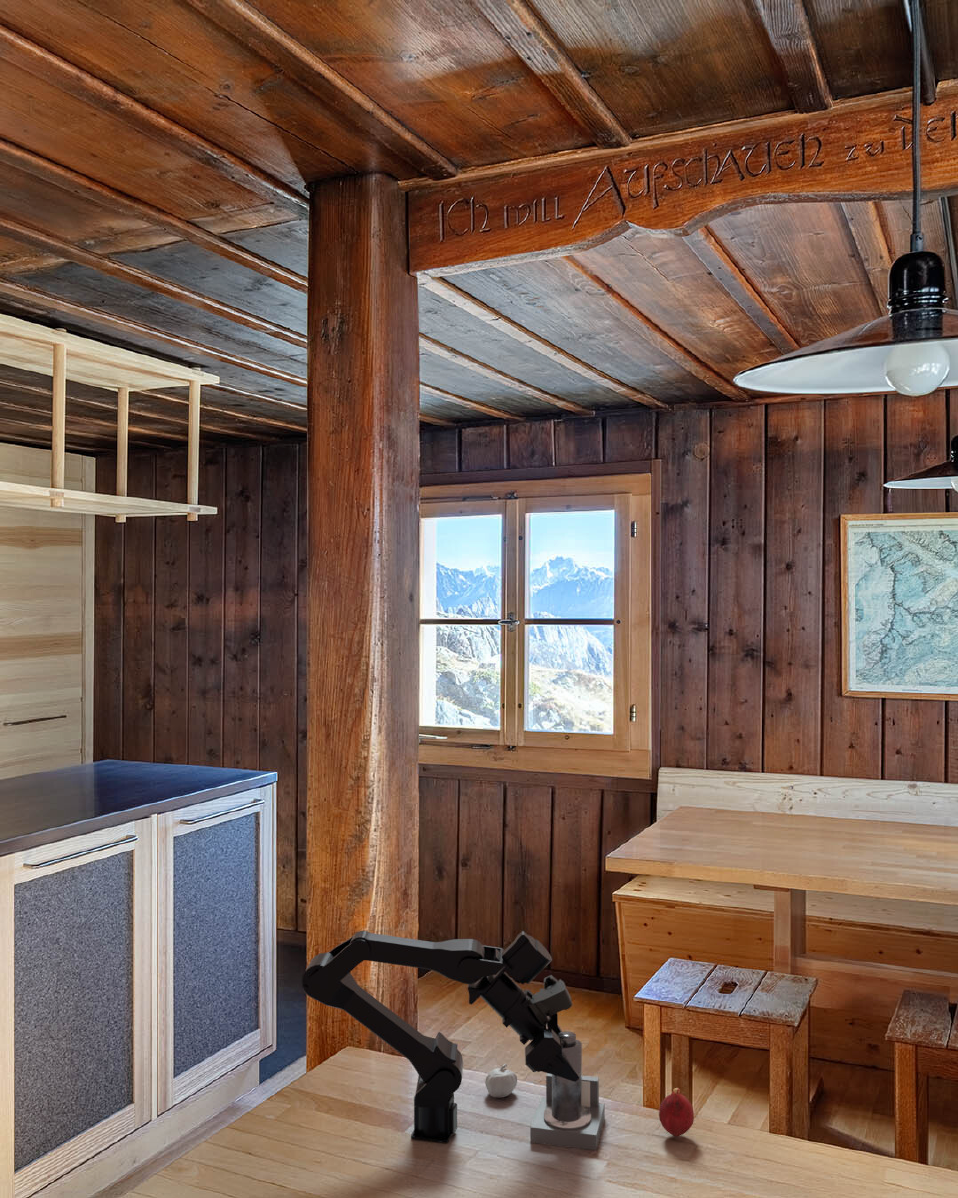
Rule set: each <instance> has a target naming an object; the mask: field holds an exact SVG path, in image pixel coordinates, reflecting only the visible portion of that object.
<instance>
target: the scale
mask: <svg viewBox="0 0 958 1198" xmlns="http://www.w3.org/2000/svg"><path fill="white" fill-rule="evenodd" d="M599 1081H600V1078H599V1077H598V1076H589V1075H582V1096H581V1106H583V1107H585V1108H586V1109H588V1110H589V1111H590V1113H591V1122H590V1123H589V1124H588V1125H587V1126H586V1127H583V1128H581V1129H576V1130H562V1129H557V1128H554V1127H552V1126H550V1125H548V1124H547V1123H546V1122H545V1120H544V1111H545V1110H546V1109H547V1108H548V1107H550V1106H552V1074H549V1073H546V1075H545V1086H546V1087H545V1094H546V1095H545V1096H541V1099H540V1101H539V1104H538V1106H537V1108H536V1109H537V1110H536V1112H535V1114H534V1117H533V1119H532V1122H531V1124H530V1131H529V1132H530V1134H529V1135H530V1138H529V1139H530V1141H529V1142H530V1143H534V1144H540V1145H541V1144H542V1145H549V1146H550V1145H551V1146H558V1147H566V1148H572V1149H580V1150H581V1149H583V1150H591V1151H597V1149H598V1145H599V1141H600V1138H601V1134H602V1130H603V1126H604V1122H605V1117H606V1116H605V1108H606V1106H605V1105H606V1104H605V1103H602V1102H599V1101H600V1095H599V1094H600V1086H599V1085H600V1082H599Z"/></svg>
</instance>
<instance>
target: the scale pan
mask: <svg viewBox="0 0 958 1198" xmlns="http://www.w3.org/2000/svg"><path fill="white" fill-rule="evenodd" d="M544 1120H545V1122H546V1123H547V1124H548V1125H550V1126H552V1127H554V1128H557V1129H562V1130H576V1129H581V1128H583V1127H586V1126H587V1125H588V1124H589V1123H590V1122H591V1113H590V1111H589V1110H588V1109H586V1108H585V1107H583V1106H581V1118H580V1119H578V1120H576V1121H573V1122H563V1121H559V1120H557V1119H555V1118H554V1117H553V1116H552V1106H550V1107H548V1108H547V1109H546V1110H545V1111H544Z"/></svg>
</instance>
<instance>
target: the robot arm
mask: <svg viewBox="0 0 958 1198" xmlns="http://www.w3.org/2000/svg"><path fill="white" fill-rule="evenodd" d="M364 961H368V962H369V961H370V962H375V963H383V964H388V965H390V964H391V965H396V966H401V967H402V966H404V967H408V968H409V967H410V968H416V969H423V970H430V971H433V972H435V973H438V974H440V975H442V976H443V977H445V978H447V979H450V980H453V981H455V982H458V983H460V984H465V985H467V991H468V1004H469V1005H473V1004H474V1003H475V1002H476V1001H477V1000H478V999H479V998H480V999H482V1000H484V1002H485V1003H486V1004H487V1005H488V1006H489V1007H490V1008H491V1009H492V1010H493V1011H494V1012H495V1013H496V1014H497V1015H498V1016H499V1017H500V1018H501V1020H502V1023H501V1024H503V1026H504V1027H506V1028H508V1027H510V1028H511V1029H512V1030H513V1031H514V1032H515V1033H516V1034H517V1035H518V1036H519V1042H520V1043H521V1044H522V1045H524V1046H525V1045H526V1044H527V1043H528V1042H529V1043H528V1044H527V1045H526V1046H525V1047H524V1058H525V1059H524V1061H525V1065H526V1066H527V1068H528V1069H529V1070H531V1071H532V1072H533V1073H536V1072H537V1073H539V1072H542V1073H546V1074H547V1073H549V1074H552V1075H556V1076H559V1077H562V1078H565V1079H568V1080H571V1081H574V1082H576V1081H577V1080H578V1079H579V1075H578V1074H577V1072H576V1071H575V1069H574V1068H573V1067H572V1065H571V1064H570V1062H569V1061H568V1060H567V1058H566V1057H565V1056H564V1054H563V1053H562V1041H561V1038H560V1039H559V1037H558V1034H559V1033H560V1032H563V1030H562V1029H561V1026H560V1025H559V1024H558V1023H559V1021H558V1019H559V1018H558V1017H559V1015H558V1013H559V1012H561V1011H568V1010H569V1009H571V1008H572V1007H573V1001H572V997H571V994H570V993H569V990H568V989H567V986H566V983H565V982H564V981H563V980H562V979H557V978H556V977H554V976H553V975H552V974H550V975H548V976H546V977H544V978H543V988H542V987H541V988H539V991H537V992H536V993H533V992H532V991H531V990H530V989H526V988H525V989H524V990H523V989H522V988H521V986H520V984H521V985H525V984H527V985H528V984H530V983H531V982H532V981H533V980H534V979H535V978H536V977H537V976H538V975H539V974H540V973H541V972H542V971H543V970H544V969H545V968H546V967H547V966H548V965H549V964H550V963H551V962H552V961H553V958H552V956H551V954H550V953H549V951H548V950H547V948H546V947H545V946H544V945H543V944H542V943H541V942H540V940H538V939H536V938H535V937H533V936H531V935H529V934H527V932H525V931H524V930H522V931H520V933H519V934H517V936H516V938H515V939H514V941H512V942H511V944H509V945H508V947H506V948H505V949H504V948H503V947H496V946H491V945H490V946H489V945H485V944H484V945H483V944H482V943H481V942H480V941H479V940H477V939H473V938H458V939H457V938H456V939H455V938H454V939H447V940H442V941H429V940H421V939H415V938H409V937H401V936H394V935H387V934H381V933H380V934H379V933H373V932H369V931H368V930H359V931H356V932H355V933H354V935H352V936H350V938H348V939H346V940H345V941H343V942H341V943H339V944H337V946H335V947H334V948H332V949H331V950H330V951H328V952H327V951H326V952H322V953H318V954H316V955H315V956H314V957H313V958H311V960H310V961H309V964H308V966H307V968H306V969H305V972H303V975H302V978H301V979H302V980H301V982H302V984H301V985H302V989H303V992H304V993H305V994H306V996H307V997H309V998H312V999H313V1000H315V1001H317V1002H319V1003H320V1004H322V1005H324V1006H328V1007H331V1008H334V1009H335V1008H336V1009H339V1010H342V1011H344V1012H345V1013H347V1014H348V1015H349V1016H350V1017H352V1018H354V1020H356V1021H357V1022H359V1023H360V1024H361V1025H363V1026H364V1027H365V1028H367V1029H368V1031H370V1032H372V1033H373V1034H374V1035H375V1036H377V1037H378V1038H379V1039H381V1040H382V1041H383V1042H385V1043H386V1044H387V1045H388V1046H390V1047H391V1048H392V1049H394V1050H395V1051H397V1052H398V1053H399V1054H400V1055H402V1056H403V1057H404V1058H405V1059H407V1061H408V1062H410V1064H411V1065H412V1066H413V1068H414V1069H415V1071H416V1073H417V1075H418V1077H417V1083H416V1089H415V1095H414V1097H413V1128H414V1129H413V1130H412V1132H411V1133H410V1138H411V1139H412V1140H419V1141H427V1142H437V1143H443V1144H446V1143H448V1142H449V1141H450V1140H451V1137H452V1136H453V1135H454V1134H455V1132H456V1129H457V1128H458V1104H457V1102H455V1093H456V1091H458V1090H459V1089H460V1087H461V1084H462V1079H463V1071H464V1069H463V1067H464V1059H463V1055H462V1053H461V1052H460V1050H459V1049H458V1046H459V1045H458V1043H455V1042H452V1041H451V1040H449V1039H448V1038H447V1037H446V1036H445V1035H444V1034H443V1033H442V1032H440V1031H438V1032H437V1034H436V1036H435V1037H430V1036H427V1035H425V1034H423V1033H421V1032H420V1031H418V1030H417V1029H416V1028H414V1027H413V1026H412V1025H411V1024H409V1023H408V1022H407V1021H405V1020H404V1019H403V1018H401V1017H400V1016H399V1015H397V1013H395V1012H394V1011H392V1010H391V1008H388V1006H386V1005H384V1003H382V1002H381V1001H380V1000H378V999H377V998H376V997H374V996H373V995H371V994H370V993H369V992H367V991H366V990H365V989H363V987H361V986H360V985H359V984H358V982H357V981H356V979H355V977H353V975H352V974H351V972H352V971H353V970H354V969H356V968H357V966H358V965H360V964H361V963H362V962H364ZM518 984H519V985H518Z"/></svg>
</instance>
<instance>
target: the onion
mask: <svg viewBox="0 0 958 1198" xmlns="http://www.w3.org/2000/svg"><path fill="white" fill-rule="evenodd" d="M658 1117H659V1121H660V1124H661V1125H662V1128H664V1130H665V1131H666V1132H667V1133H669V1134H670V1135H671V1136H673V1137H675V1138H678V1137H681V1136H682V1135H684V1134H685V1133H687V1132H688V1131H689V1130H690V1129H691V1127H692V1126H693V1125H694V1119H695V1113H694V1108H693V1105H692V1104H691V1102H690V1100H688V1098H687V1097H686V1096H685V1095H683V1094H682V1093H681V1089H680V1088H679V1087H676V1088H673V1091H672V1093H670V1094H669V1095H667V1096H666V1097H664V1098H663V1100H662V1101H661V1102H660V1105H659V1111H658Z"/></svg>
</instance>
